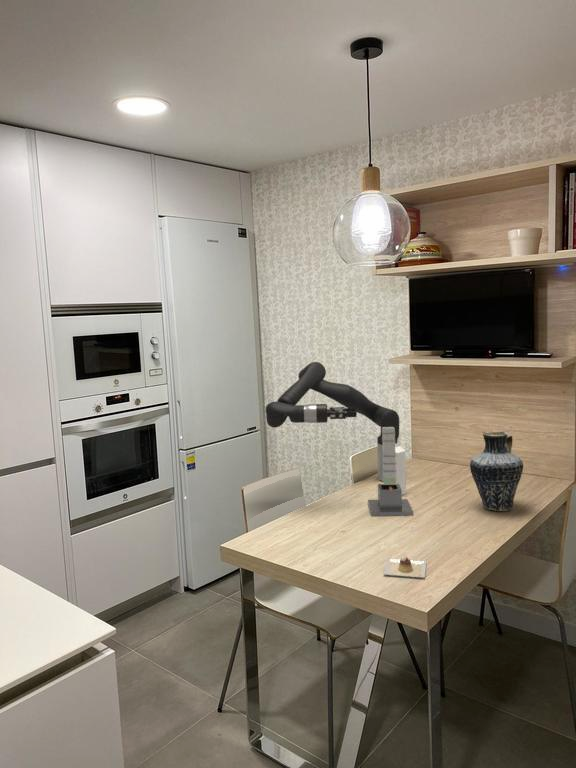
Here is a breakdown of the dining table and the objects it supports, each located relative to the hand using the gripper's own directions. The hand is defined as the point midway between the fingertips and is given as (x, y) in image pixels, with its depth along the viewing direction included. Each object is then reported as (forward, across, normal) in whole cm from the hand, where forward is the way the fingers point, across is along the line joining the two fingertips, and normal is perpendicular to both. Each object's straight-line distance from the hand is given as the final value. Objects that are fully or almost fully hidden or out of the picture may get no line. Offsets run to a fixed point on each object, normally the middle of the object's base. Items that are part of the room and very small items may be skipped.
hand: (355, 412), depth 245 cm
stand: (+12, -7, +38) cm, 40 cm away
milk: (+17, +13, +38) cm, 44 cm away
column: (+12, -7, +27) cm, 31 cm away
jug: (+54, -8, +38) cm, 66 cm away
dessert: (+10, -64, +39) cm, 75 cm away
